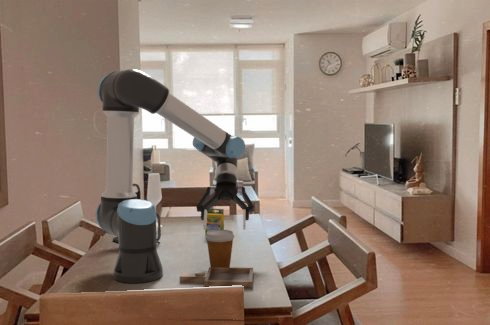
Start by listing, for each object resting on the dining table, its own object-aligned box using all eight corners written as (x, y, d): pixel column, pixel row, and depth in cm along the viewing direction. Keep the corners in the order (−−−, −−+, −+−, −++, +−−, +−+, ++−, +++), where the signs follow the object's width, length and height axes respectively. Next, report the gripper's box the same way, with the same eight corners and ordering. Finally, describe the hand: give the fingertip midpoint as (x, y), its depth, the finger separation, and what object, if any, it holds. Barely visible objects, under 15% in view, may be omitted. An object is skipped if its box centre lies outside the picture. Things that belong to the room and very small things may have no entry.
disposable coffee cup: (230, 273, 168) (230, 236, 166) (202, 271, 169) (201, 235, 168) (237, 264, 177) (237, 229, 176) (210, 263, 179) (209, 228, 178)
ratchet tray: (176, 287, 154) (176, 279, 153) (184, 273, 168) (184, 266, 167) (252, 288, 153) (252, 280, 153) (253, 273, 167) (253, 266, 167)
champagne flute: (144, 226, 237) (143, 174, 235) (154, 224, 243) (153, 172, 241) (155, 228, 234) (154, 175, 231) (165, 225, 239) (164, 173, 237)
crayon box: (205, 237, 217) (204, 209, 216) (207, 235, 219) (207, 208, 218) (222, 238, 215) (221, 210, 214) (224, 236, 218) (223, 209, 217)
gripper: (260, 184, 196) (260, 233, 183) (193, 184, 197) (189, 233, 183) (260, 171, 190) (260, 221, 177) (191, 172, 191) (187, 221, 177)
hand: (224, 227), depth 180 cm, fingers open, 13 cm apart
